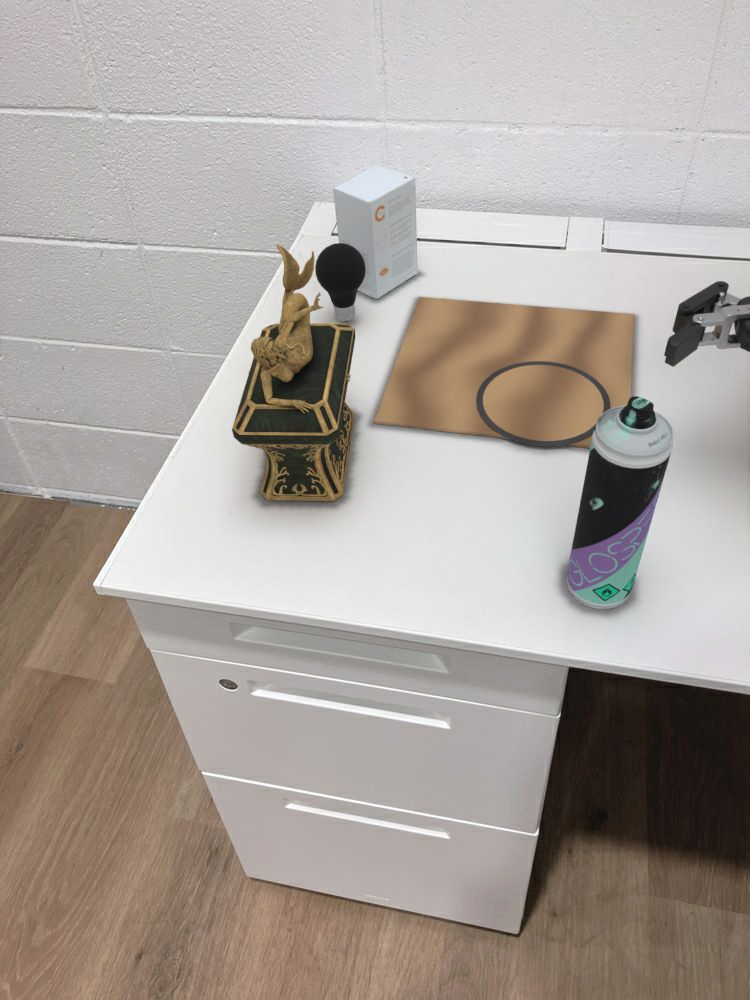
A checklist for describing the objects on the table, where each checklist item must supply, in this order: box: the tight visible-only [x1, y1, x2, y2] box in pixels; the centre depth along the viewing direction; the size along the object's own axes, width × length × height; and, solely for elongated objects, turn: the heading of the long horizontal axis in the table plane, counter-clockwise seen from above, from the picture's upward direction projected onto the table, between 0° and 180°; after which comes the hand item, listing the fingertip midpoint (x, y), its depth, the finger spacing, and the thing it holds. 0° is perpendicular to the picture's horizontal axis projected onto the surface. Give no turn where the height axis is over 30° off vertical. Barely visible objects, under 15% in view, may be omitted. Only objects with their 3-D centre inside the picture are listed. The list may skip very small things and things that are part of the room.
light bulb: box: [314, 242, 366, 323], centre depth 95 cm, size 6×6×10 cm
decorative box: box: [231, 243, 356, 502], centre depth 76 cm, size 20×10×20 cm, turn 175°
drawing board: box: [373, 296, 635, 449], centre depth 90 cm, size 26×25×1 cm
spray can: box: [565, 395, 675, 610], centre depth 61 cm, size 6×6×20 cm
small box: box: [332, 164, 419, 300], centre depth 100 cm, size 8×6×13 cm
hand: (717, 379), depth 62 cm, fingers open, 8 cm apart
